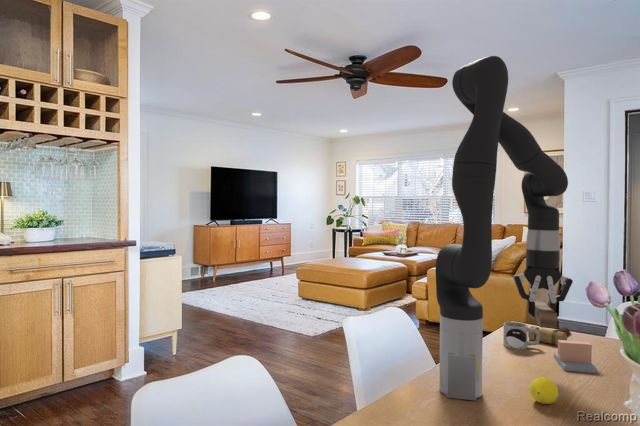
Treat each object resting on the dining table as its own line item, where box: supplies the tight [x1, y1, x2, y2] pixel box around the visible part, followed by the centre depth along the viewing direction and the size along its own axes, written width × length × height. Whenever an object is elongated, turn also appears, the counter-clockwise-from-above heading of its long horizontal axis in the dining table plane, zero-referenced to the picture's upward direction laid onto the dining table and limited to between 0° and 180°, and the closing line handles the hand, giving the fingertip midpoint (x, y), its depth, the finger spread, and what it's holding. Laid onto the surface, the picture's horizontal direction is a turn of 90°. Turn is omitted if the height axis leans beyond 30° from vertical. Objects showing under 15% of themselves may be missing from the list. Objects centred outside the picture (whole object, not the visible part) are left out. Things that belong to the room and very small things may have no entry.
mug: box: [502, 321, 540, 351], centre depth 135 cm, size 10×7×7 cm
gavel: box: [527, 325, 571, 347], centre depth 145 cm, size 21×5×10 cm
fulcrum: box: [553, 340, 598, 374], centre depth 120 cm, size 11×8×6 cm
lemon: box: [529, 376, 559, 405], centre depth 96 cm, size 7×5×5 cm
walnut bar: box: [527, 299, 558, 330], centre depth 112 cm, size 16×4×4 cm, turn 165°
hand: (541, 316), depth 112 cm, fingers closed on walnut bar, 3 cm apart
